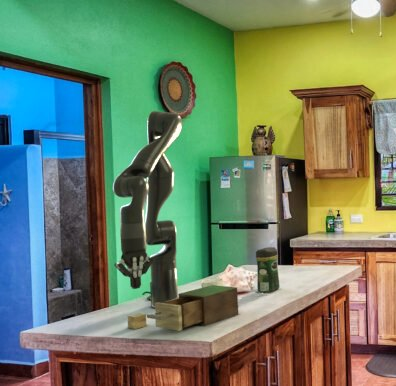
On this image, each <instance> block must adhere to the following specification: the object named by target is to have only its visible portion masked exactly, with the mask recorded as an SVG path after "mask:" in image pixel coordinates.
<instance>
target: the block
mask: <svg viewBox="0 0 396 386" xmlns="http://www.w3.org/2000/svg"><path fill="white" fill-rule="evenodd" d="M126 318H127V328H128V329H133V330H137V329H141V328H144V327H146V326H147V314H146V313H141V312H136V313H133V314H130V315H127V317H126Z"/></svg>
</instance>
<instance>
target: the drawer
mask: <svg viewBox="0 0 396 386" xmlns="http://www.w3.org/2000/svg"><path fill="white" fill-rule="evenodd" d="M146 319H151V320H155V327H156V328H161V329H166V330H172V331H178V332H180V331H183V328H188V327H191V326H193V325H198V324H197V323H200V322H203V306H202V299H199V298H191V297H180V298H179V297H178V298H177V299H173V300H169V301H165V302H163V303H160V302H157V303H155V308H154V313H147V314H146Z"/></svg>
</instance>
